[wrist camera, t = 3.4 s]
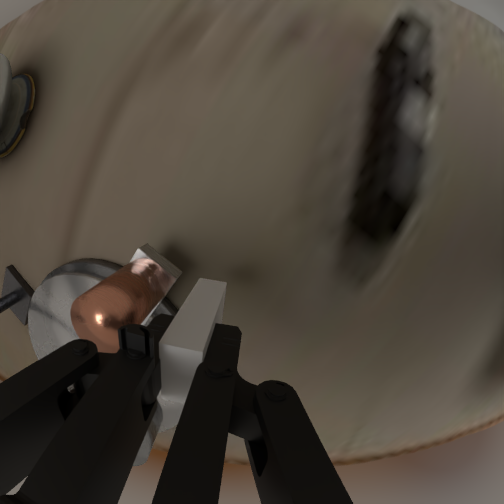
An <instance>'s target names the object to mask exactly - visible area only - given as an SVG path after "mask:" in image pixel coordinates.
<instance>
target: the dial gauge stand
mask: <svg viewBox="0 0 504 504" xmlns="http://www.w3.org/2000/svg"><path fill="white" fill-rule="evenodd" d="M33 294H34V291H33V289H32V288H31V287H30V286H29V285H28V284H27V282H26V281H25V280H24V279H23V278H22V276H21V275H20V274H19V273H18V272H17V270H16V269H15V268H14V267H13V265H10V266H8V267H6V271H5V277H4V283H3V289H2V296H1V297H2V298H0V313H2V312H3V311H5V310H6V309H8V308H10V309H11V310H12V311H13V313H14V314H15V315H16V316H17V317H18V319H19V320H20V321H21V322H22V323H23V324H24V325H26V324H28V311H29V305H30V302H31V298H32V296H33Z"/></svg>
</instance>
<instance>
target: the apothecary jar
mask: <svg viewBox="0 0 504 504" xmlns="http://www.w3.org/2000/svg"><path fill="white" fill-rule="evenodd" d="M34 98H35V85H34V81H33V79H32V77H31V76H30V75H28V74H20V75H17V76H15V77H13V78H12V71H11V66H10V63H9V60H8V59H7V57H6V56H5V55H3V54H1V53H0V158H1V157H4V156H6V155H8V154H9V153H10V152H11V151H12V150H13V149H14V148H15V147H16V146H17V144H18V143H19V141H20V139H21V138H22V136H23V134H24V132H25V129H26V124H27V118H28V116H29V114H30V113H31V111H32V109H33V105H34Z"/></svg>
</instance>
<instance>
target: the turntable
mask: <svg viewBox="0 0 504 504" xmlns="http://www.w3.org/2000/svg"><path fill="white" fill-rule="evenodd" d="M181 274H182V271H181V270H180V269H178V268H177V267H176V266H175V265H173V264H172V263H171V262H170V261H168V260H167V259H166V258H165V257H163V256H162V255H161V254H160V253H158V252H157V251H156V250H155V249H154V248H152V247H151V246H150V245H149V244H148V243H147V244H145V245H143V246H141V247H140V248H138V250H137V251H136V253H135V255H134V256H133V258H132V259H131V261H130V263H128V264H127V265H125V266H124V267H122V268H121V269H119V270H118V271H116V272H115V273H113V274H111V275H110V276H108V277H105V276H102V275H99V274H96V273H92V272H87V271H67V272H62V273H60V274H58V275H55V276H53V277H51V278H49V279H48V280H46V281H45V282H43V283H42V284H41V285H40V286H39V287H38V288H37V289H36V291H35V292H34V294H33V296H32V298H31V302H30V305H29V311H28V327H29V334H30V338H31V342H32V345H33V348H34V351H35V353H36V356H37V358H38V360H40V359H41V358H43V357H45V356H46V355H48V354H50V353H51V352H53V351H55V350H56V349H58V348H60V347H61V346H63V345H65V344H66V343H68V342H70V341H72V340H75V339H87V340H90V341H92V342H93V343H95V344H96V346H97V349H98V352H104V353H117V351H118V350H119V349H120V348H119V339H118V329H119V328H120V327H121V326H124V325H127V324H140V325H144V326H146V327H147V326H148V324H149V323H150V322H151V320H152V319H153V318H154V317H155V316H157V315H158V314H157V313H156V312H155V310H156V309H157V307H158V306H159V304H160V303H161V301H162V300H163V299H164V297H165V296H166V294H167V293H168V292H169V290H170V289H171V287H172V286H173V285H174V283H175V282H176V280H177V279H178V278H179V276H180V275H181ZM69 387H70V386H69ZM69 387H68V388H69ZM157 400H158V402H159V404H160V406H161V408H162V411H163V420H162V423H161V426H160V428H159V431H158V433H159V432H163V431H166V430H168V429H170V428H172V427H174V426H175V425H177V424H178V422H179V419H180V416H181V413H182V410H183V407H184V404H183V403H179V402H174V401H170V400H166V399H162V398H161V390H160V392H159V394H158V396H157Z"/></svg>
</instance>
